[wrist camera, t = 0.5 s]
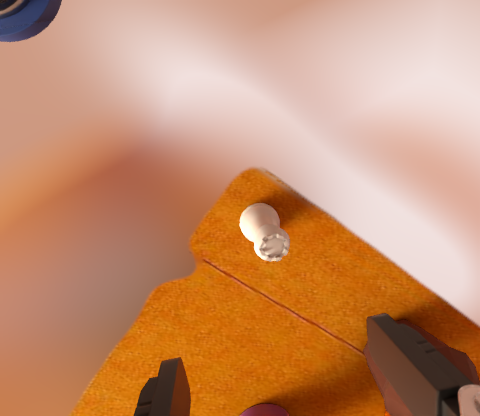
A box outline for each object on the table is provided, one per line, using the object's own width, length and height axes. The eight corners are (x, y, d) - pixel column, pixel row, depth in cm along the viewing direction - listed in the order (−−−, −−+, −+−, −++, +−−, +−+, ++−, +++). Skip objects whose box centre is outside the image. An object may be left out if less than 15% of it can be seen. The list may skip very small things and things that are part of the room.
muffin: (445, 347, 38) (523, 417, 29) (382, 393, 39) (438, 475, 30) (405, 294, 35) (477, 352, 26) (338, 344, 36) (384, 419, 27)
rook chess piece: (254, 194, 30) (269, 213, 22) (285, 215, 31) (310, 241, 23) (231, 226, 31) (238, 255, 23) (262, 246, 32) (279, 280, 24)
